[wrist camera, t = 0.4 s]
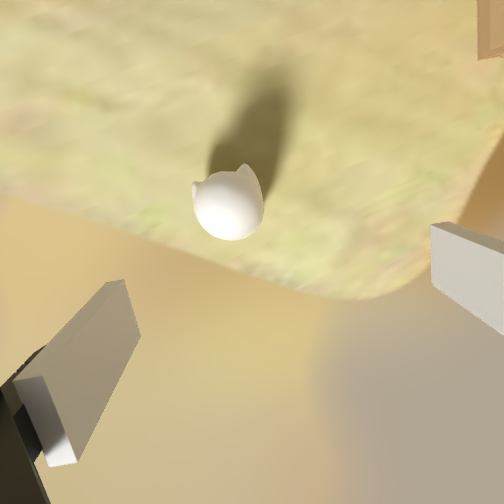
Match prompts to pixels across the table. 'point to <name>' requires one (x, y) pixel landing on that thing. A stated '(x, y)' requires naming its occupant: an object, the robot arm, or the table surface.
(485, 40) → the carton
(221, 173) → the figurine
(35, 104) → the table surface
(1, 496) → the robot arm
